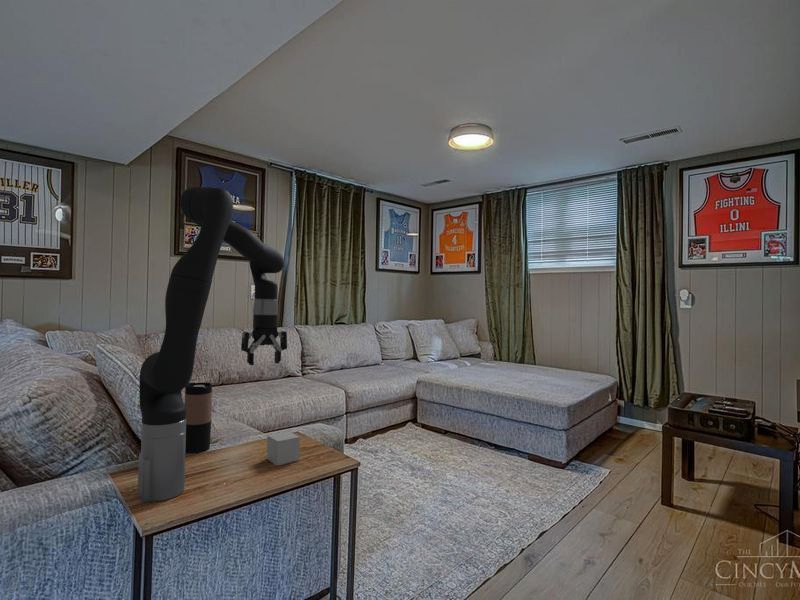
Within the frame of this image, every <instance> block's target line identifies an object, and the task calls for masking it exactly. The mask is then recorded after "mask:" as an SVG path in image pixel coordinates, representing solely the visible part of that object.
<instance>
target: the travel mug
mask: <svg viewBox="0 0 800 600" xmlns="http://www.w3.org/2000/svg"><path fill="white" fill-rule="evenodd" d="M212 394H213V384H212V383H211V382H192V383H188V384H187V386H186V387H185V388H184V404H185V406H186V445H185V454H200V453H204V452H207V451H209V450H210V446H211V431H212V409H213V408H212V404H213V403H212V402H213V401H212V400H213V399H212V397H213V395H212Z"/></svg>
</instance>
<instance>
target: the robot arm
mask: <svg viewBox="0 0 800 600" xmlns="http://www.w3.org/2000/svg"><path fill="white" fill-rule="evenodd" d="M179 206H180V209H181V212H182V214H183V215H184V217H185V218H186V219H188V220H189V221H190V222H192V223H193V224H195V225H198V226H199V227H200V230H199V233H198V235H197V237H196V238H195V241H194V242H193V244H191V246H190V247H189V248H188V249H187V250H186V251H185V252H184V253H183V254H182V255H181V256H180V258H179V259H178V260H177V262H175V265H174V266H173V268H172V269H171V272H170V276H169V279H168V284H167V288H166V291H165V292H166V293H165V300H164V301H165V302H164V308H165V309H164V310H165V311H164V312H165V329H164V330H165V331H164V335H163V336H164V337H163V339H162V343H161V346H160V348H159V351H157V352H154V353H152V354H150V355H149V356H148V357H146V359H145V360H144V361H143V362H142V364H141V366H140V369H139V371H140V372H139V382H138V383H139V393H138V394H139V409H140V413H141V439H140V441H141V443H140V447H141V448H140V452H139V454H138V470H137V474H138V475H137V495H138V497H139V499H140V501H141V502H142V503H147V502H159V501H167V500H171V499H173V498H175V497H178V496H179V495H181V494H182V493H183V492H184V491H185V478H186V477H185V474H186V452H185V445H186V406H185V401H184V399H183V394H182V390H183V389H184V390H185V387H186V386H187V384H190V381H191V379H192V376H193V371H194V365H195V357H196V348H197V342H198V338H199V337H198V336H199V332H200V329H201V326H202V321H203V318H204V314H205V309H206V306H207V303H208V299H209V296H210V295H209V294H210V291H211V287H212V283H213V278H214V273H215V270H216V265H217V262H218V258H219V256H220V255H219V254H220V250H221V248H222V245H223V242H225V243H226V244H228V245H229V246H230V247H231V248H233V249H234V250H235V251H236V252H238V253H239V254H240V255H241V256H242V257H243V258H244V259H245V260H248V261H249V267H250V272H251V276H252V279H253V280H252V281H253V286H254V301H253V306H252V307H253V309H252V313H253V317H252V332H249V331H243V332H242V336H241V346H240V347H241V348H240V350H241V351H242V352H245V353H246V354H247V355H246V363H247V364H248V365H249V366H254V365H255V364H254V361H255V360H254V359H255V353H254V352H255V351H256V350H257V348H258V347H259V346H271V347H272V348H273V349H274V350H275V351H274V364H280V362H281V360H282V351H284V350H287V349H288V337H287V336H288V335H287V333H288V332H287V331H285V330H281V331H278V325H279V324H278V321H279V316H278V315H279V303H278V291H279V290H278V284H277V282H276V281H273V280H269V279H267V276H266V274H278V273H280V272H281V271H283V269H284V267H285V260H284V256H283V255H282V254H281V252H280V251H279V250H277V249H275V248H274V247H273V246H270V245H269V244H266V243H264V242H262V240H260V238H259V237H258V236H257V235H255V234H254V233H253V232H252V231H251V230H250V229H248V228H246V227H244V226H243V225H241V224H239V223H237V222H235V221H233V220H232V216H233V210H234V202H233V197H232V195H231V194H230V192H229V191H228V190H227V189H225V188H221V187H211V186H210V187H209V186H193V187H188V188H186V189H185V190H184V191H183V192H182V194H181V196H180V200H179ZM251 338H253V340H252V341H251V343H250V345H249V342H250V339H251ZM277 338H279V340H280V343H279V342H278V341H277Z"/></svg>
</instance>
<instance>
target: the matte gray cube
mask: <svg viewBox="0 0 800 600" xmlns="http://www.w3.org/2000/svg"><path fill="white" fill-rule="evenodd" d="M300 439H301V437H300V436H299V435H298V434H295V433H293V432H291V431H284V432H279V433H273V434H269V435H267V444H266V446H267V447H266V450H267V451H266V459H267V460H269V462H271V464H273V465H276V466H282V465H286V464H290V463H294V462H298V461H300V445H301V444H300V441H301V440H300ZM297 460H298V461H297ZM293 461H294V462H293Z"/></svg>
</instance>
